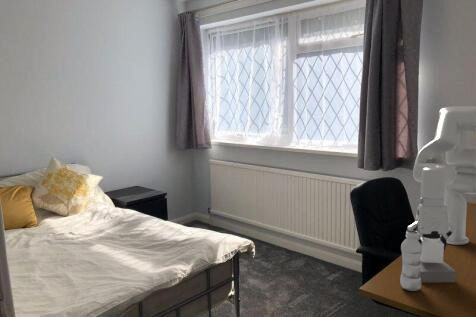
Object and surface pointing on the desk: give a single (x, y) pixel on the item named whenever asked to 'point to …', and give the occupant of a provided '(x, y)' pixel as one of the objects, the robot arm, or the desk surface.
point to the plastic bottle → (411, 262)
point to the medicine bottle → (432, 248)
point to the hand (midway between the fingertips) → (430, 248)
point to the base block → (436, 272)
